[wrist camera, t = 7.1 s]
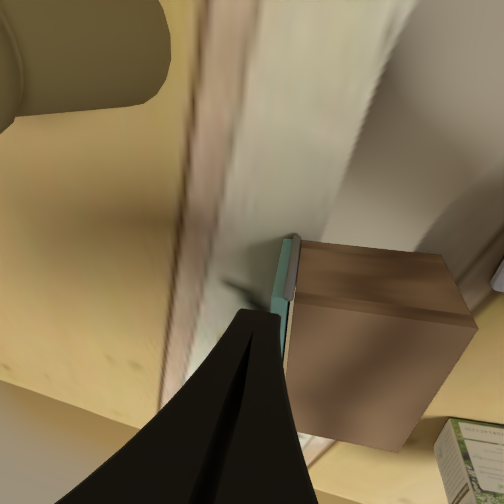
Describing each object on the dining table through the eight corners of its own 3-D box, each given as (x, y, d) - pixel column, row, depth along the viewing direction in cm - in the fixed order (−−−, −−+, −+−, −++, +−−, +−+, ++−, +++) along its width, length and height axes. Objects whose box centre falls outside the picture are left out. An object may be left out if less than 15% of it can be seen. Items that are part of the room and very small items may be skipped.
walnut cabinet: (441, 255, 18) (478, 328, 13) (385, 379, 25) (398, 452, 21) (301, 240, 19) (293, 302, 15) (288, 362, 26) (280, 428, 22)
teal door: (301, 235, 18) (293, 294, 14) (285, 366, 26) (278, 429, 22) (267, 231, 19) (250, 288, 15) (262, 362, 26) (250, 423, 22)
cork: (144, 130, 17) (-53, 235, 8) (41, 56, 16) (-321, 84, 7) (192, 15, 13) (-61, -18, 5) (65, -91, 12) (-600, -404, 3)
